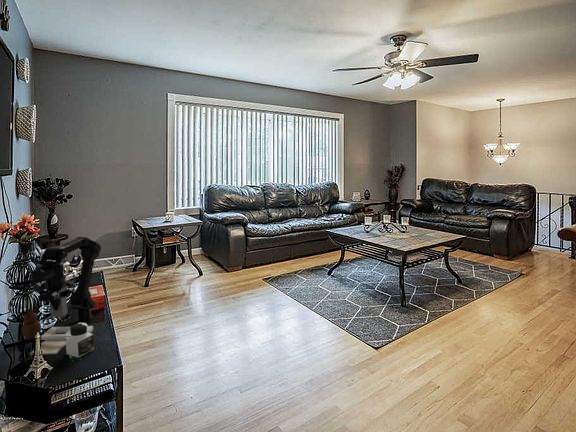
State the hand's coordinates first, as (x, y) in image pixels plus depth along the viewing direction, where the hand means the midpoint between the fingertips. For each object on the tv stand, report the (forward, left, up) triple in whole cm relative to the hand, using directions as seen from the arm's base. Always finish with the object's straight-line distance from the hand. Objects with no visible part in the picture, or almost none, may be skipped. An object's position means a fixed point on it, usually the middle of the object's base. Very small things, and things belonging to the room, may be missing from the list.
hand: (58, 308), depth 153 cm
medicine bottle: (+15, +15, -13) cm, 25 cm away
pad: (+11, +1, -13) cm, 17 cm away
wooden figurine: (+1, -11, -13) cm, 18 cm away
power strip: (0, +3, -13) cm, 13 cm away
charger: (0, 0, -3) cm, 3 cm away
